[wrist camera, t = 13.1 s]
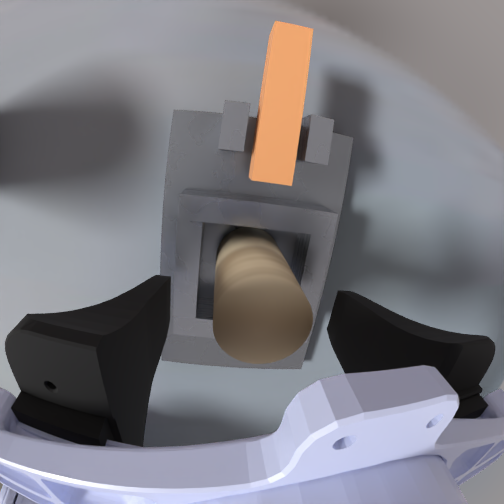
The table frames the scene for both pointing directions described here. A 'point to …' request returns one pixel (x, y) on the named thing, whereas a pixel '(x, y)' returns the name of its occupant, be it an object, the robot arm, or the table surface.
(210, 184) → the dock
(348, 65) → the table surface
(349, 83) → the table surface
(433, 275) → the table surface
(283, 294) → the peg
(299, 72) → the pin
